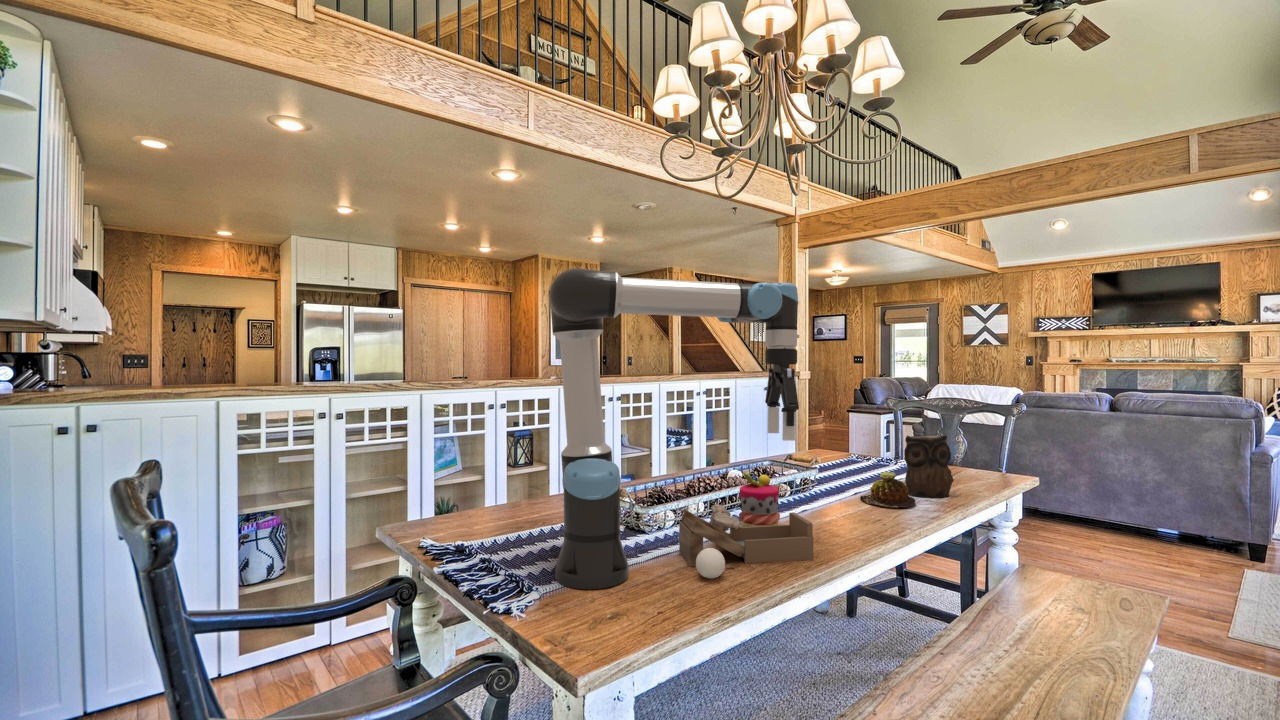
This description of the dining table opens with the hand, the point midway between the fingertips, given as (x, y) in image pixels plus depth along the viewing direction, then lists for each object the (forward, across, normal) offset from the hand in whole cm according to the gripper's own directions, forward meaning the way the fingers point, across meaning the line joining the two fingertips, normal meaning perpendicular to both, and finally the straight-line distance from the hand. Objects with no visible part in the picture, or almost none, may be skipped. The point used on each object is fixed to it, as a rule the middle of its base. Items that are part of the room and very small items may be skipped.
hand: (780, 436), depth 144 cm
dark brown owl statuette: (+26, +52, -63) cm, 86 cm away
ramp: (+27, -7, +17) cm, 33 cm away
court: (+26, -5, +4) cm, 27 cm away
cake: (+27, +15, +1) cm, 31 cm away
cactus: (+26, +43, -46) cm, 68 cm away
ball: (+27, -19, +20) cm, 38 cm away
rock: (+27, +8, +12) cm, 31 cm away
